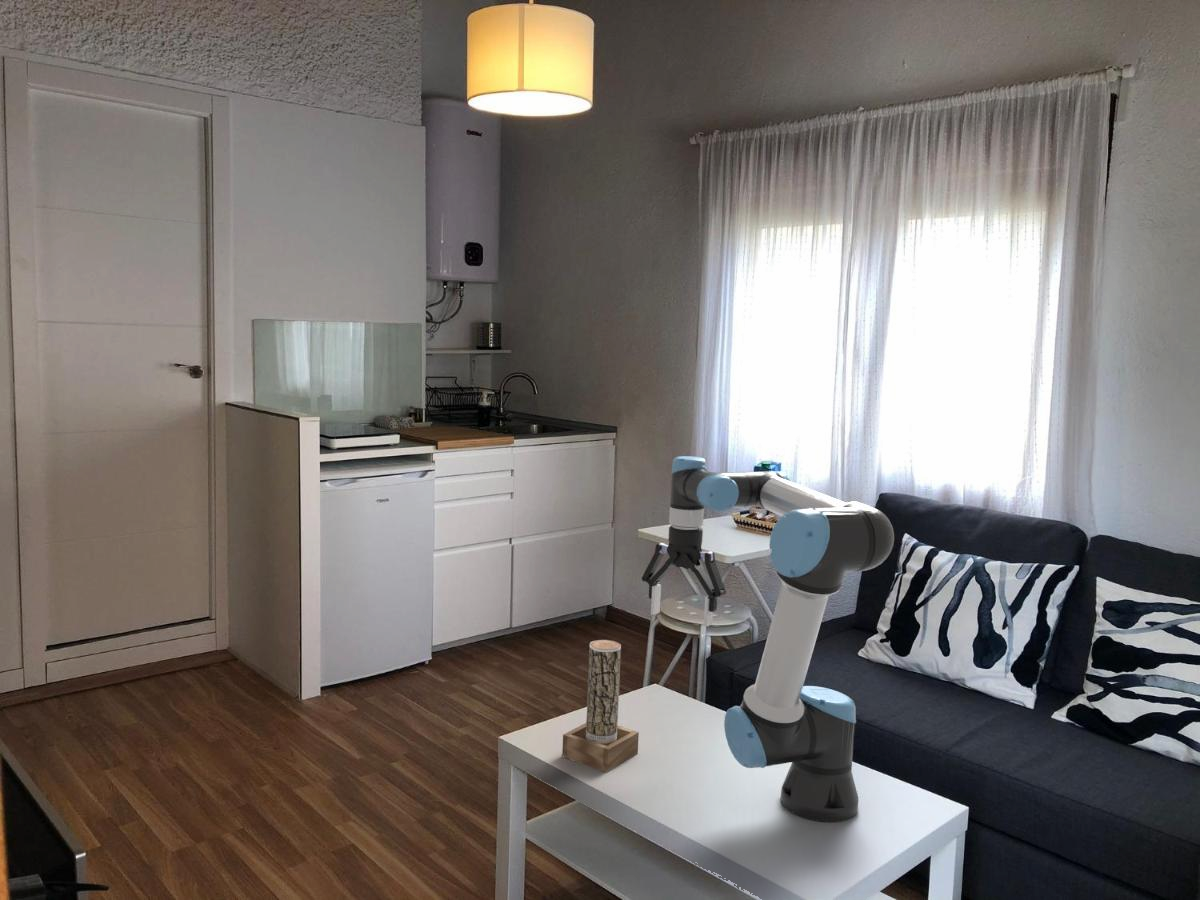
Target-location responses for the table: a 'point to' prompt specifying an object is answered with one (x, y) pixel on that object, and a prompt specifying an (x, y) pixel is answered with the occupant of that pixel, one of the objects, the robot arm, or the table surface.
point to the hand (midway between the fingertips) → (681, 619)
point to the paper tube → (603, 691)
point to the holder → (600, 748)
